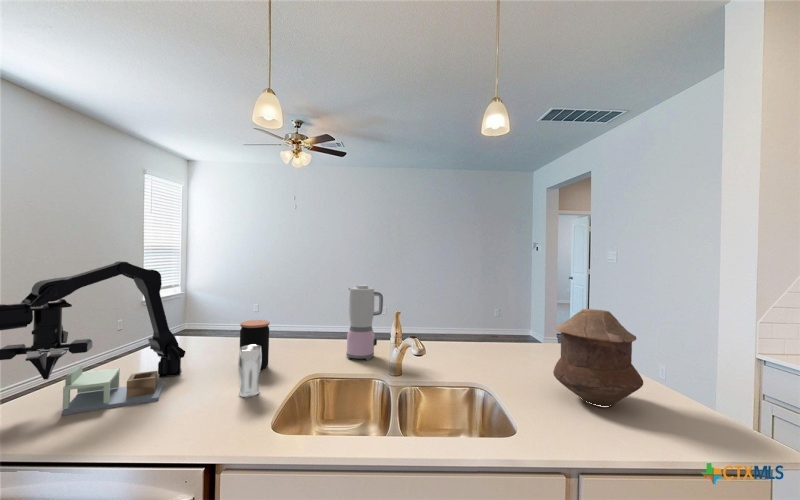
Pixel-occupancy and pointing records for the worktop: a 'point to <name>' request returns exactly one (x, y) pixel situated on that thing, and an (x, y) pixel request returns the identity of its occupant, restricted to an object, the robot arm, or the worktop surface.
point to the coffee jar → (256, 337)
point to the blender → (362, 322)
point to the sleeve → (142, 384)
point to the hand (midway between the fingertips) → (46, 379)
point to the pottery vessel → (597, 358)
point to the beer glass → (249, 369)
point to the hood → (90, 382)
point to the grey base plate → (117, 398)
